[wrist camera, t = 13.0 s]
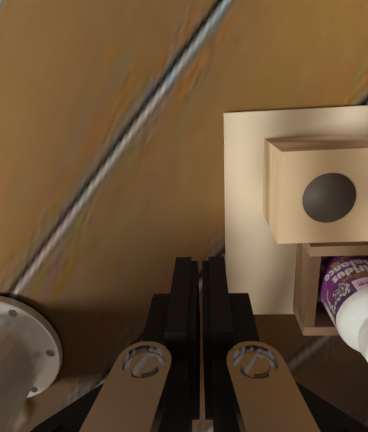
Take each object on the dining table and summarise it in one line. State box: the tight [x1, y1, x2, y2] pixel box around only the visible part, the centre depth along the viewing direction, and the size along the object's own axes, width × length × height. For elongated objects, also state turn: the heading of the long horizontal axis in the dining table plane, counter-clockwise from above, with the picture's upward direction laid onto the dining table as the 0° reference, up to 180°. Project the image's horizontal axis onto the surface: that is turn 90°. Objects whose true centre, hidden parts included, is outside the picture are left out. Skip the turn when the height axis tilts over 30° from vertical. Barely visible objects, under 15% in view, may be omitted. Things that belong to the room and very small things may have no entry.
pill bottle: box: [318, 255, 368, 362], centre depth 25 cm, size 5×5×10 cm
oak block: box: [262, 135, 368, 244], centre depth 24 cm, size 6×6×6 cm
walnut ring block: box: [293, 241, 368, 336], centre depth 27 cm, size 8×8×4 cm
